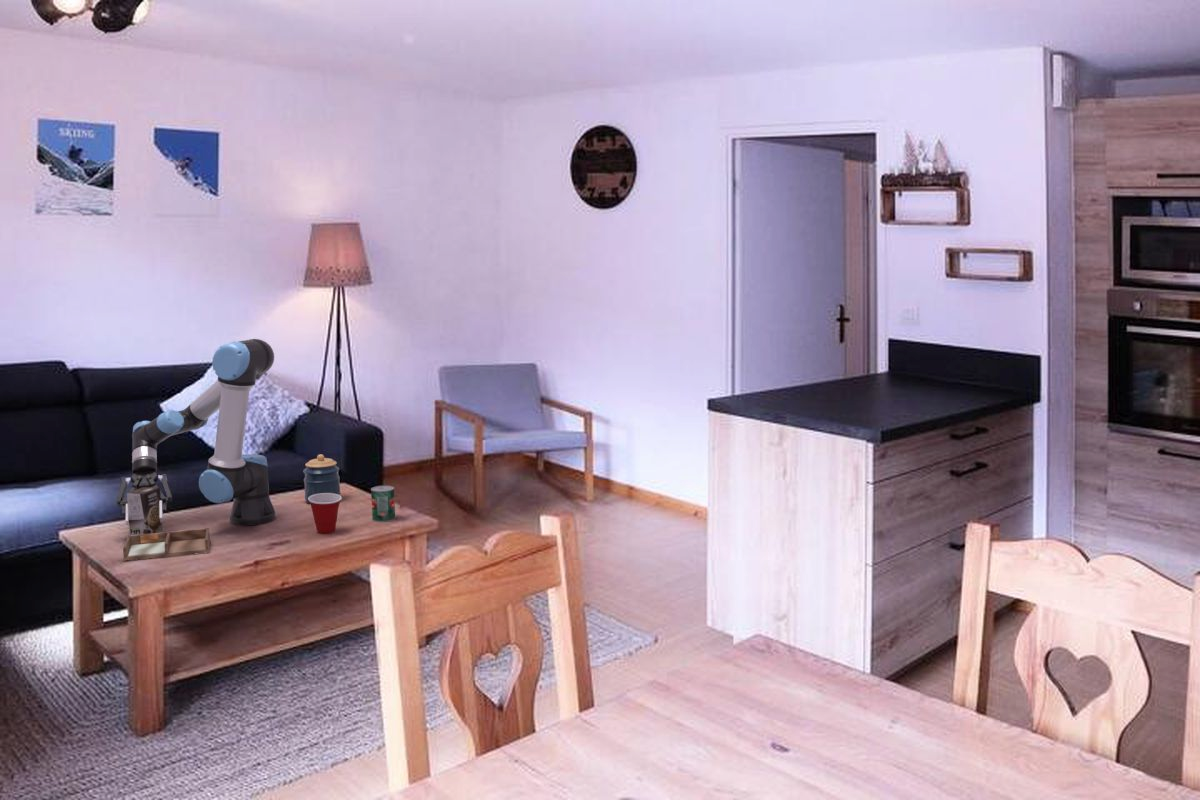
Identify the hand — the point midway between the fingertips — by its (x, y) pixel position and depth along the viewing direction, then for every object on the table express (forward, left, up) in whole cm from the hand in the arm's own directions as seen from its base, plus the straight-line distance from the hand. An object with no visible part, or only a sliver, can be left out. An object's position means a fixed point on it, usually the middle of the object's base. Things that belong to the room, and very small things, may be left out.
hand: (144, 521), depth 327 cm
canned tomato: (-76, 0, -7) cm, 76 cm away
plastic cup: (-56, +9, -7) cm, 57 cm away
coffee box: (0, -3, -7) cm, 7 cm away
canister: (-58, -34, -7) cm, 68 cm away
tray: (-7, +13, -7) cm, 16 cm away
